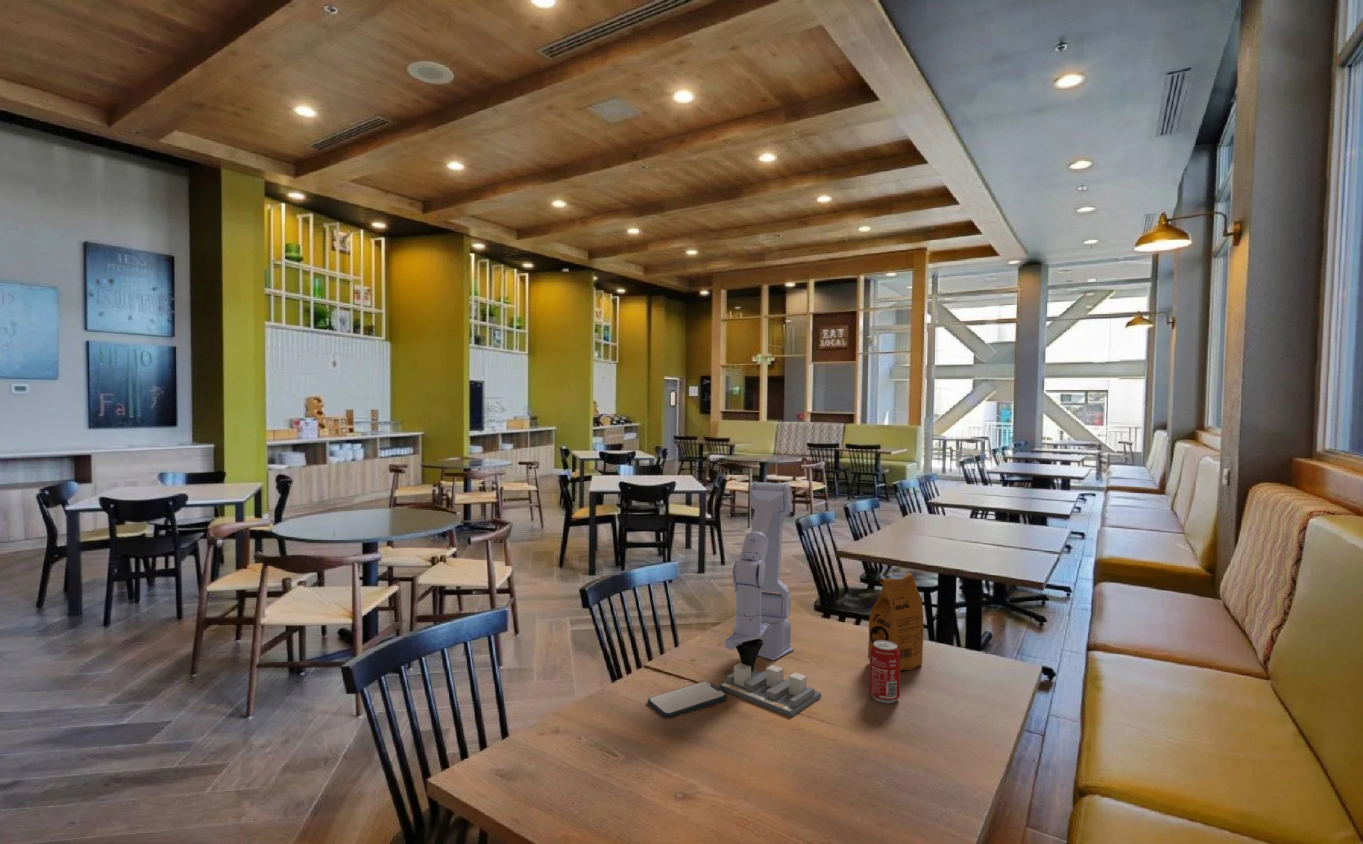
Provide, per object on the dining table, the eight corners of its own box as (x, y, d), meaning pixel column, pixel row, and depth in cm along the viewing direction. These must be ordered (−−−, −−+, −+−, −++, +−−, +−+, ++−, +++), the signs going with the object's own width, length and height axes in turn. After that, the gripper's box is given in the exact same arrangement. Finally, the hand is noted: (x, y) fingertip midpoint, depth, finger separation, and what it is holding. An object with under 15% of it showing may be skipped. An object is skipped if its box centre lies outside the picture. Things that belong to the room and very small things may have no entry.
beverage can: (895, 692, 145) (896, 639, 144) (902, 706, 138) (903, 650, 138) (867, 691, 145) (867, 638, 145) (872, 704, 139) (873, 649, 139)
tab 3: (794, 689, 144) (794, 672, 143) (806, 694, 141) (806, 676, 141) (788, 693, 142) (789, 676, 142) (800, 697, 140) (800, 680, 140)
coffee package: (861, 661, 162) (862, 574, 161) (897, 652, 167) (899, 568, 166) (891, 677, 153) (892, 585, 152) (928, 667, 159) (930, 578, 158)
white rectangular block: (772, 681, 148) (772, 664, 147) (783, 685, 146) (783, 668, 145) (766, 685, 146) (766, 668, 146) (777, 689, 144) (777, 672, 144)
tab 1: (740, 679, 148) (740, 663, 148) (750, 683, 146) (750, 666, 146) (733, 683, 147) (733, 666, 147) (744, 687, 145) (744, 670, 145)
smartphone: (666, 723, 132) (729, 702, 141) (666, 715, 132) (729, 694, 141) (645, 705, 140) (706, 686, 148) (645, 698, 140) (706, 679, 148)
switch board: (750, 672, 155) (750, 662, 155) (821, 697, 142) (821, 686, 142) (719, 689, 146) (719, 678, 146) (791, 717, 133) (791, 705, 133)
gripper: (752, 601, 156) (752, 657, 156) (714, 616, 145) (714, 676, 145) (777, 607, 151) (777, 665, 151) (740, 624, 140) (739, 685, 141)
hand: (748, 671), depth 148 cm, fingers closed
